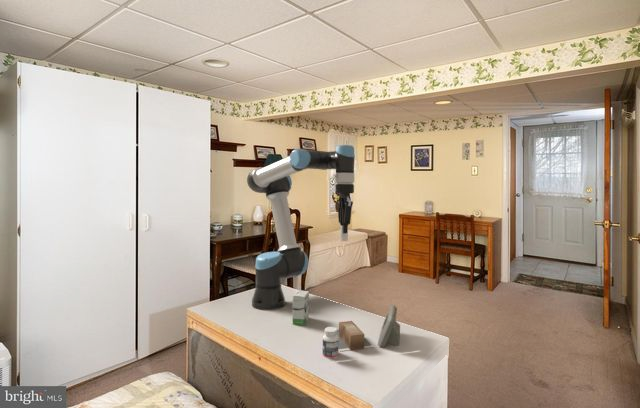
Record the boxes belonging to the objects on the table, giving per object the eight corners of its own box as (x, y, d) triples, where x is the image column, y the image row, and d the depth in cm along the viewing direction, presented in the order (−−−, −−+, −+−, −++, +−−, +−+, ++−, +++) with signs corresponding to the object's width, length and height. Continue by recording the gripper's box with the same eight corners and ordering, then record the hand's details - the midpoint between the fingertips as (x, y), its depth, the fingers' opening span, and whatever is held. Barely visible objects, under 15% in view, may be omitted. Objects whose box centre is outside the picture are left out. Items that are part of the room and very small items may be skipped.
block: (339, 322, 132) (350, 335, 120) (351, 320, 133) (364, 333, 121) (338, 335, 132) (350, 350, 120) (351, 334, 133) (364, 348, 122)
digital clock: (382, 329, 139) (383, 302, 138) (406, 334, 135) (407, 306, 134) (369, 346, 124) (369, 316, 123) (395, 352, 120) (395, 321, 119)
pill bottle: (323, 351, 120) (323, 325, 120) (338, 352, 120) (339, 326, 119) (321, 359, 115) (322, 332, 115) (338, 360, 115) (338, 332, 114)
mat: (325, 332, 136) (325, 330, 136) (355, 328, 139) (355, 327, 139) (340, 352, 119) (340, 351, 119) (373, 348, 123) (373, 347, 123)
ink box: (304, 326, 141) (304, 296, 140) (292, 325, 142) (292, 295, 141) (309, 318, 149) (309, 290, 149) (297, 317, 150) (297, 289, 150)
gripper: (331, 183, 152) (330, 238, 154) (341, 183, 140) (340, 243, 141) (348, 183, 154) (347, 238, 156) (359, 183, 142) (358, 243, 143)
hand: (344, 240), depth 148 cm, fingers closed
